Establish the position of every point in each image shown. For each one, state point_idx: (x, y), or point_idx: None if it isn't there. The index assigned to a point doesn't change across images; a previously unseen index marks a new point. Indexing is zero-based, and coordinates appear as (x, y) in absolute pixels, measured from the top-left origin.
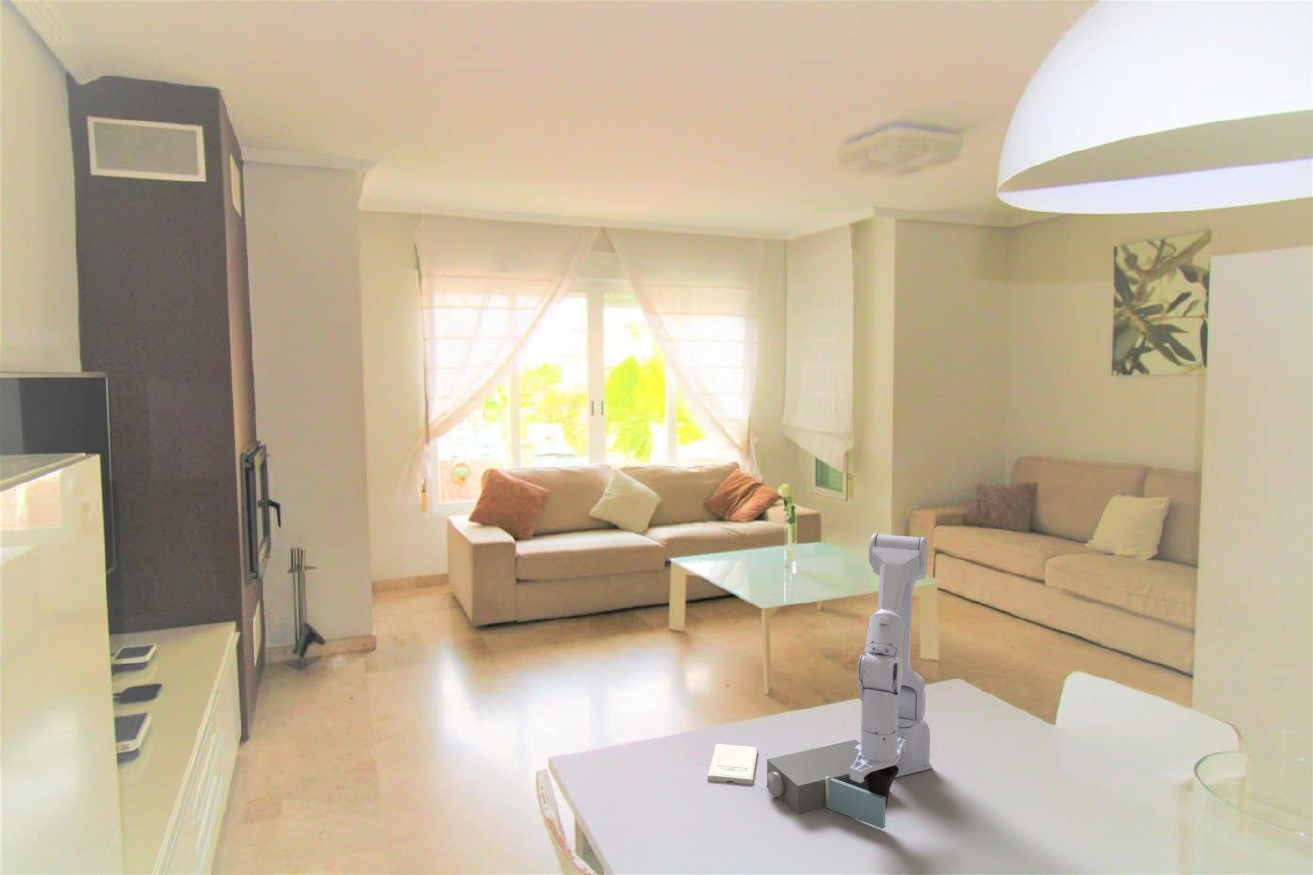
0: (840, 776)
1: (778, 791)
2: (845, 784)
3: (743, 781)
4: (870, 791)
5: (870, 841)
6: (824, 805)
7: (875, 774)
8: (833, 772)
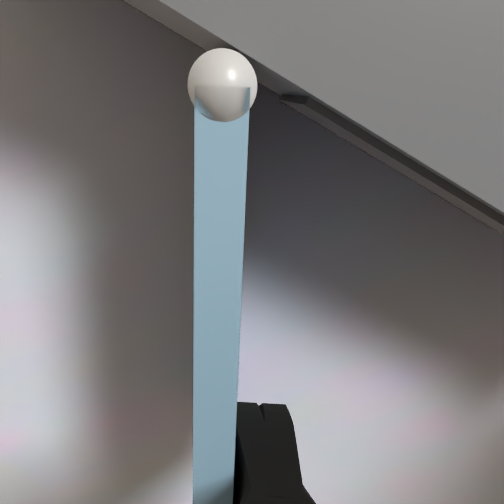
0: (388, 143)
1: None
2: (207, 291)
3: None
4: (241, 478)
5: (88, 399)
6: None
7: None
8: (419, 49)
